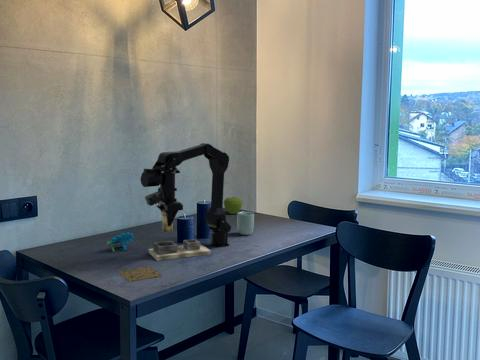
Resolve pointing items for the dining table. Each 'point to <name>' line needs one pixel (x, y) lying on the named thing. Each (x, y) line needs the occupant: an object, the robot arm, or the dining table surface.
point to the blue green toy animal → (120, 241)
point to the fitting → (164, 224)
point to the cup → (245, 222)
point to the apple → (233, 205)
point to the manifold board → (177, 250)
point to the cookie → (139, 274)
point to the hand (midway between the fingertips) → (167, 225)
